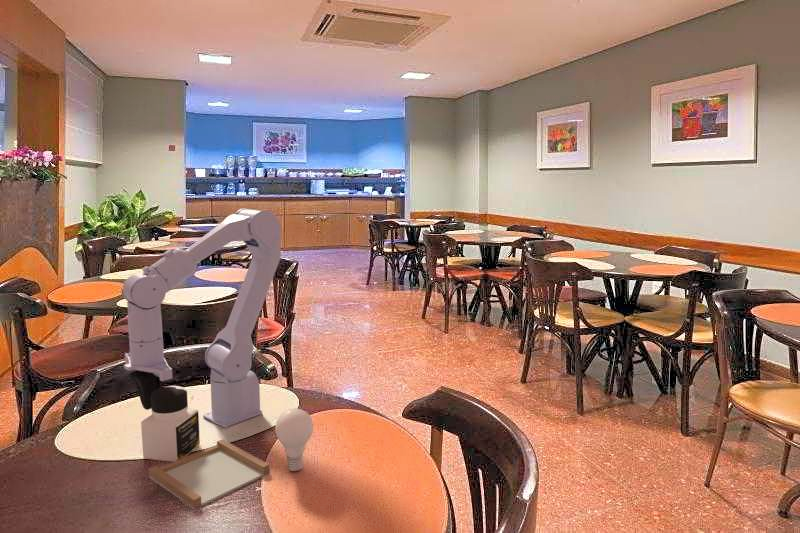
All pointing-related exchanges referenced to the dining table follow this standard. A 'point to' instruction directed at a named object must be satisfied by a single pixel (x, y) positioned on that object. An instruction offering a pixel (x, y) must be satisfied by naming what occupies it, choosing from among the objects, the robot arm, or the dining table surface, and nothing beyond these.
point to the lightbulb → (294, 435)
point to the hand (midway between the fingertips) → (150, 407)
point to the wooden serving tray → (209, 473)
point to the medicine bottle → (170, 426)
